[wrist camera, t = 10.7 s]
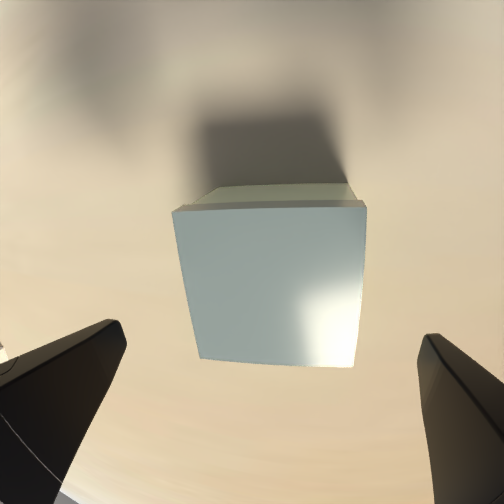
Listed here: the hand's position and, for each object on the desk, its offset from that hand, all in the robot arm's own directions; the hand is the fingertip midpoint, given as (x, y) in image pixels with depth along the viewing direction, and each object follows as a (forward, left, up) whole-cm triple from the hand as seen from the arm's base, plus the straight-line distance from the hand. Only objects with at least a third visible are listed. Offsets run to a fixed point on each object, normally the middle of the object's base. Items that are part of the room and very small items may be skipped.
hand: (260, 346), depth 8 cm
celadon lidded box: (0, 0, -8) cm, 8 cm away
